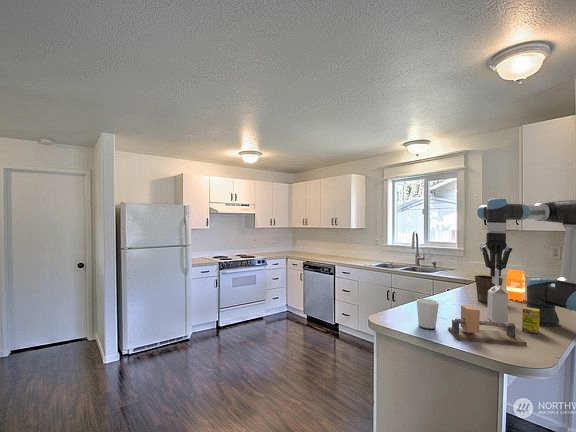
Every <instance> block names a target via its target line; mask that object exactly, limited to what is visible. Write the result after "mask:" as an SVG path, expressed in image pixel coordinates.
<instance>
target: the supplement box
mask: <svg viewBox="0 0 576 432" xmlns="http://www.w3.org/2000/svg"><path fill="white" fill-rule="evenodd" d="M521 318H522V321H521V325H522V326H521V331H522V332H526V333H528V334H534V335H538V334H539V333H540V325H539V323H540V309H534V308H529V307H526V306H524V307H523V308H522V317H521Z"/></svg>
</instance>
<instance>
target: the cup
mask: <svg viewBox="0 0 576 432" xmlns="http://www.w3.org/2000/svg"><path fill="white" fill-rule="evenodd" d="M439 303H440V302H438V301H437V300H436V299H435V300H434V299H430V298H429V299H428V298H418V299H416V308H417V309H416V310H417V321H418V322H417V323H418V327H419V328H422V329H423V330H427V329H428V330H430V331H433V330H434V329H436V327H437V321H438V320H437V319H438V313H439Z"/></svg>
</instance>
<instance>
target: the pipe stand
mask: <svg viewBox="0 0 576 432" xmlns="http://www.w3.org/2000/svg"><path fill="white" fill-rule="evenodd" d="M461 324H465V319H461V318H455V319H452V320H451V326H450V327H448V328H447V329H448V332H449V333H450V334H451V335H452V336H453V337H454V338H456V340H457V341H465V342H475V341H476V342H477V343H488V344H489V343H490V344H500V345H501V344H502V345H514V346H523V347H524V346H525V347H526V346H527V341H525V340H524V339H522V338H521V337H519V336H518V335H516V325H515V323H514V322H509V321H508V322H495V321H491V320H481V319H480V322H479V326H487V327H488V326H489V327H502V328H506V331H502V330H501V331H500V330H489V329H479V333H473V332H466V331H465V330H464V329H463V328H462V327H460V325H461ZM476 342H475V343H476Z"/></svg>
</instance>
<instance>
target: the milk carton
mask: <svg viewBox="0 0 576 432" xmlns="http://www.w3.org/2000/svg"><path fill="white" fill-rule="evenodd" d="M486 315H487V316H486V317H487V319H488V321H495V322H508V323H509V299H508V294H507V291H505V290H504V289H502V285H501V286H499V285H497V284H495V286H494V287H492V288H491V289H490V290H488V303H487V314H486Z"/></svg>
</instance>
